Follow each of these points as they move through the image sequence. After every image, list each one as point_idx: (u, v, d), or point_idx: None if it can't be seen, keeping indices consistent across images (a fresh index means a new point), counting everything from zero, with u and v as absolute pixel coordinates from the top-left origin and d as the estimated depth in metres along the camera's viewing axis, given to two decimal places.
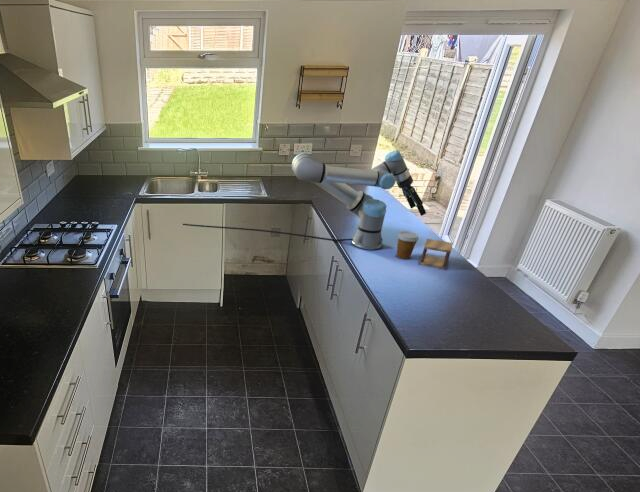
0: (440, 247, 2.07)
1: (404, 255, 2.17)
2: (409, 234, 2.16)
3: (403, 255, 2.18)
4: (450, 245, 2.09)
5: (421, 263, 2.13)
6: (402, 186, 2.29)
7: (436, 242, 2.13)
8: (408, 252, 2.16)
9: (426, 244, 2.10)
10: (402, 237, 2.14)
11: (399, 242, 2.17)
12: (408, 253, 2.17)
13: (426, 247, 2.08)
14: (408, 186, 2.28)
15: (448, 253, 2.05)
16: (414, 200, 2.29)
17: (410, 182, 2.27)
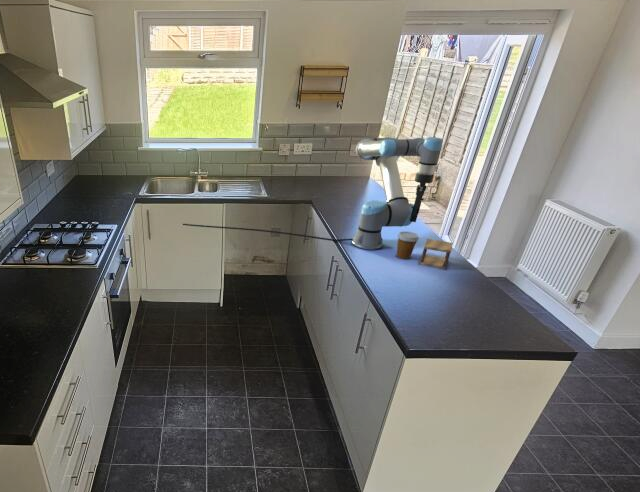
0: (440, 247, 2.07)
1: (404, 255, 2.17)
2: (409, 234, 2.16)
3: (403, 255, 2.18)
4: (450, 245, 2.09)
5: (421, 263, 2.13)
6: (417, 179, 2.01)
7: (436, 242, 2.13)
8: (408, 252, 2.16)
9: (426, 244, 2.10)
10: (402, 237, 2.14)
11: (399, 242, 2.17)
12: (408, 253, 2.17)
13: (426, 247, 2.08)
14: (422, 183, 2.00)
15: (448, 253, 2.05)
16: None
17: (426, 181, 1.99)
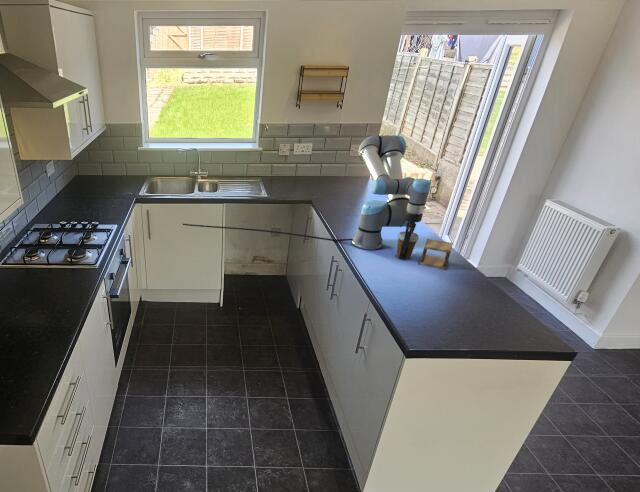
0: (440, 247, 2.07)
1: None
2: None
3: None
4: (450, 245, 2.09)
5: (421, 263, 2.13)
6: (406, 218, 2.10)
7: (436, 242, 2.13)
8: (408, 252, 2.16)
9: (426, 244, 2.10)
10: (402, 237, 2.14)
11: (399, 242, 2.17)
12: (408, 253, 2.17)
13: (426, 247, 2.08)
14: (410, 222, 2.09)
15: (448, 253, 2.05)
16: None
17: (415, 220, 2.08)
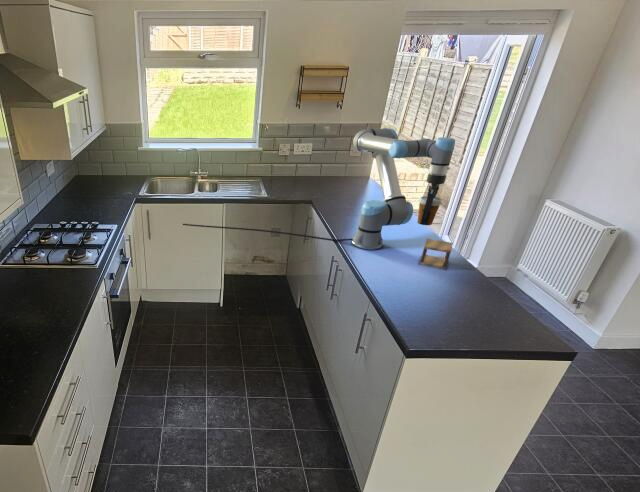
0: (440, 247, 2.07)
1: None
2: None
3: None
4: (450, 245, 2.09)
5: (421, 263, 2.13)
6: (428, 180, 1.98)
7: (436, 242, 2.13)
8: (430, 217, 2.04)
9: (426, 244, 2.10)
10: (424, 201, 2.02)
11: (420, 207, 2.05)
12: (430, 219, 2.04)
13: (426, 247, 2.08)
14: (433, 184, 1.97)
15: (448, 253, 2.05)
16: None
17: (438, 181, 1.96)
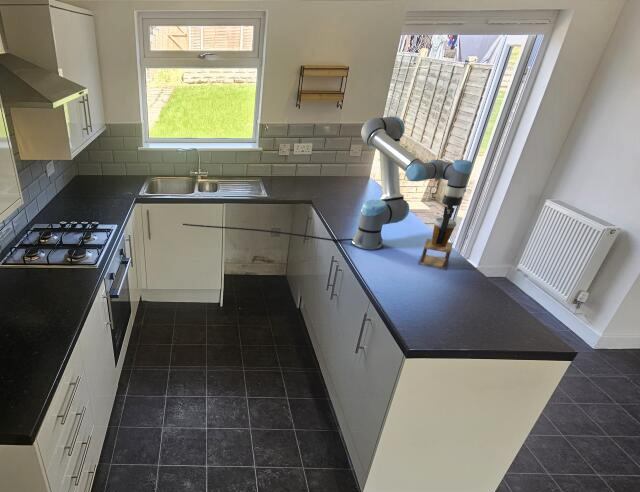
0: (440, 247, 2.07)
1: None
2: None
3: None
4: (450, 245, 2.09)
5: (421, 263, 2.13)
6: (445, 201, 1.99)
7: None
8: (445, 239, 2.05)
9: (426, 244, 2.10)
10: (439, 223, 2.03)
11: (435, 228, 2.06)
12: (445, 240, 2.06)
13: (426, 247, 2.08)
14: (449, 206, 1.98)
15: (448, 253, 2.05)
16: None
17: (454, 203, 1.96)
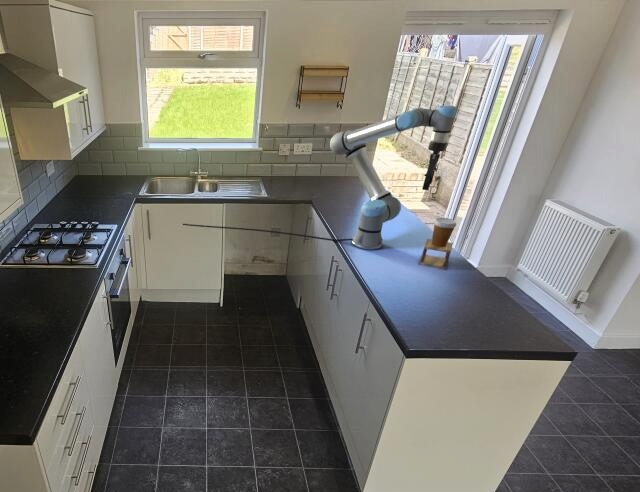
0: (440, 247, 2.07)
1: (440, 242, 2.06)
2: (446, 220, 2.05)
3: (439, 243, 2.07)
4: (450, 245, 2.09)
5: (421, 263, 2.13)
6: (430, 147, 2.05)
7: None
8: (445, 239, 2.05)
9: (426, 244, 2.10)
10: (439, 223, 2.03)
11: (435, 228, 2.06)
12: (445, 240, 2.06)
13: (426, 247, 2.08)
14: (435, 151, 2.03)
15: (448, 253, 2.05)
16: None
17: (440, 149, 2.02)
